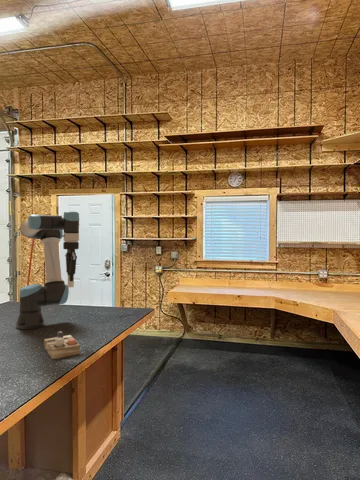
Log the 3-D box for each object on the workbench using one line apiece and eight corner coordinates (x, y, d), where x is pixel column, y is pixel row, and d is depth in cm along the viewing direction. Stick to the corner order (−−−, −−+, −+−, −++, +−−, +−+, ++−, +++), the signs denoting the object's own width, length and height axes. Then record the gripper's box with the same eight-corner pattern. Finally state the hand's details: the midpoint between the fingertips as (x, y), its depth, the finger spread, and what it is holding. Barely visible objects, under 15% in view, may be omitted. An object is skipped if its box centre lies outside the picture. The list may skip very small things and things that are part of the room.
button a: (66, 346, 146) (66, 339, 146) (74, 344, 148) (74, 338, 148) (68, 348, 143) (68, 341, 143) (76, 347, 145) (77, 340, 145)
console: (44, 347, 150) (44, 338, 150) (70, 342, 157) (70, 334, 157) (51, 359, 137) (52, 349, 137) (79, 353, 144) (79, 344, 144)
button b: (54, 345, 143) (54, 338, 143) (62, 344, 145) (62, 337, 145) (56, 348, 140) (56, 340, 140) (64, 346, 142) (64, 339, 142)
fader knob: (57, 337, 151) (57, 331, 151) (61, 337, 152) (61, 330, 152) (58, 339, 149) (58, 333, 149) (63, 338, 150) (63, 332, 150)
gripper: (60, 241, 167) (60, 285, 167) (66, 242, 156) (66, 289, 157) (74, 241, 171) (74, 284, 172) (82, 242, 160) (81, 288, 161)
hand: (70, 287), depth 164 cm, fingers closed
